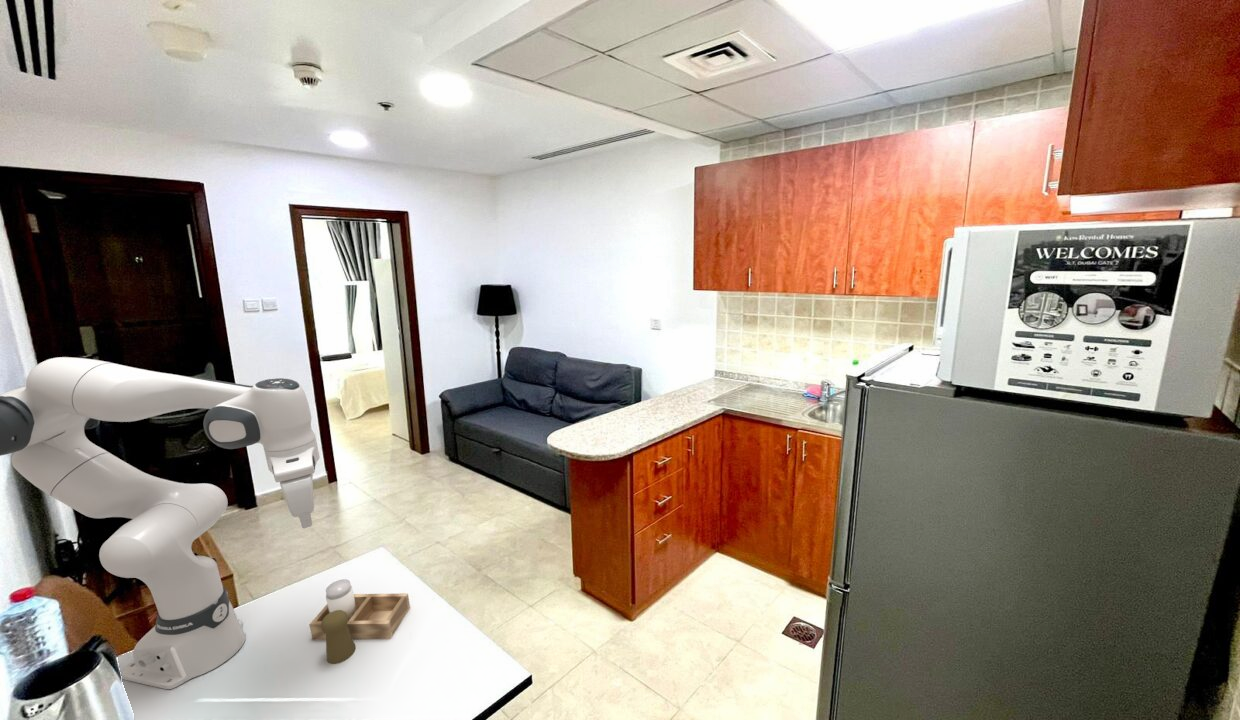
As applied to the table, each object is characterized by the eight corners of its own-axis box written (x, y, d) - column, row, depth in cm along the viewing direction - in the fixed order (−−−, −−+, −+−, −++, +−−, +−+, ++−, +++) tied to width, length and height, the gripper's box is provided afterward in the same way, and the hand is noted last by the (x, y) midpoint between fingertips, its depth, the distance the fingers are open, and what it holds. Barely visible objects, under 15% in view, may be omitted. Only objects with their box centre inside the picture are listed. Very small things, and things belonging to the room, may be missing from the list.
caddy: (313, 642, 113) (309, 624, 112) (338, 610, 122) (335, 594, 121) (391, 641, 112) (387, 623, 111) (410, 610, 122) (407, 593, 121)
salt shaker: (327, 631, 115) (319, 594, 112) (341, 614, 120) (334, 578, 118) (349, 631, 114) (342, 594, 112) (362, 614, 120) (355, 578, 117)
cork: (343, 669, 105) (334, 627, 102) (320, 665, 106) (310, 624, 104) (362, 647, 111) (354, 607, 108) (340, 643, 112) (332, 604, 109)
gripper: (275, 444, 104) (288, 501, 107) (273, 478, 87) (289, 544, 91) (309, 437, 107) (320, 492, 110) (313, 468, 91) (327, 532, 94)
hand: (306, 516), depth 100 cm, fingers open, 8 cm apart
